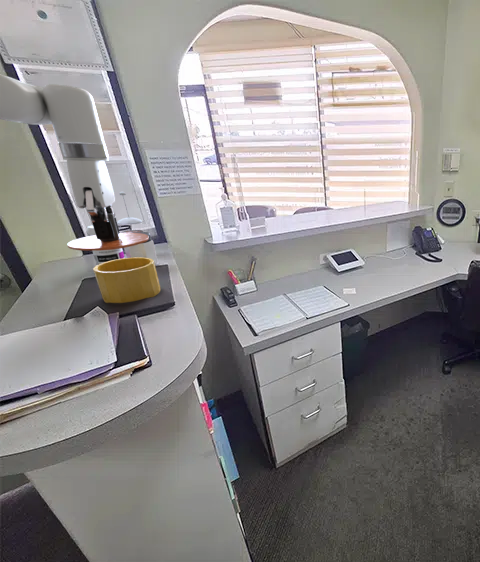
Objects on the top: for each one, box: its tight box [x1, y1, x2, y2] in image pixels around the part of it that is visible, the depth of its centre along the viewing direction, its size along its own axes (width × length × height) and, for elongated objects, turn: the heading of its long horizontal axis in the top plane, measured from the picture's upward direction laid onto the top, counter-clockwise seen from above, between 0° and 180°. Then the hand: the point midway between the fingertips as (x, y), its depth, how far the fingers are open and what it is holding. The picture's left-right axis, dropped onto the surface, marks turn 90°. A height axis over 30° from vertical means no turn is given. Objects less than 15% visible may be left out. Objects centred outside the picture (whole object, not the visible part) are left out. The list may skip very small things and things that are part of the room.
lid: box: [66, 213, 149, 252], centre depth 73 cm, size 15×15×7 cm
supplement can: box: [85, 224, 125, 266], centre depth 110 cm, size 8×8×15 cm
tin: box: [92, 257, 161, 304], centre depth 90 cm, size 14×14×10 cm
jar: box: [124, 231, 160, 267], centre depth 112 cm, size 9×8×12 cm
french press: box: [117, 191, 144, 258], centre depth 121 cm, size 10×12×25 cm
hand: (108, 235), depth 73 cm, fingers closed on lid, 3 cm apart
